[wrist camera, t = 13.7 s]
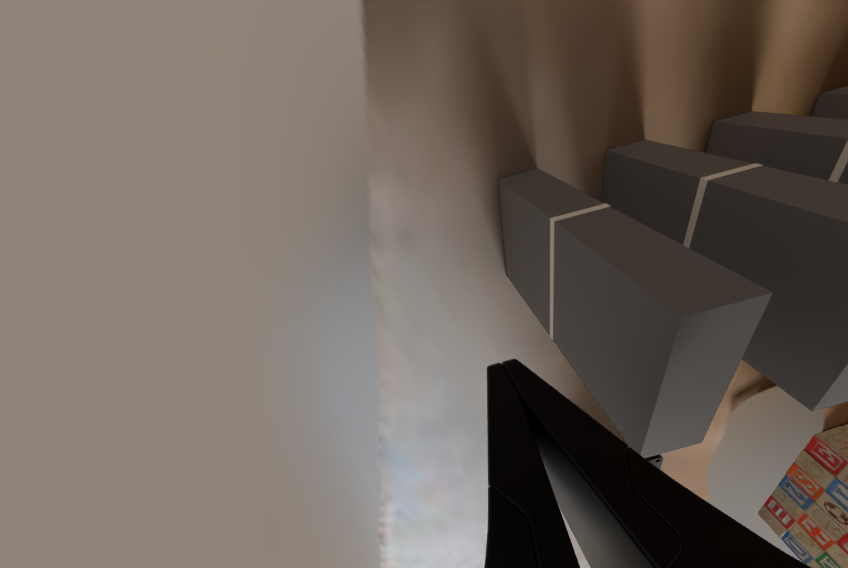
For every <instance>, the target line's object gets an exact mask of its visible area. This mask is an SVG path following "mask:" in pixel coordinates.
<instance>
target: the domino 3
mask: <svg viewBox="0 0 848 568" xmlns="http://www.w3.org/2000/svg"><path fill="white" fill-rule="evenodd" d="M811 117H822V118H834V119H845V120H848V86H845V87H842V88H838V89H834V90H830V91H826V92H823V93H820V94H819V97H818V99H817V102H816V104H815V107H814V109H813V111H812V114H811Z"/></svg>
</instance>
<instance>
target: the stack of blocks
mask: <svg viewBox="0 0 848 568" xmlns="http://www.w3.org/2000/svg"><path fill="white" fill-rule="evenodd" d="M758 514H759V516H760V517H761V518H762V519H763V520H764V521H765V522H766V523H767V524H768V525H769V526H770V528H771V529H772V530H773V531H774V532H775V533H776V534H777V535H778V537H779V538H781V539H782V540H783V541H784V543H785V544H786V545H787V546H788V547H789V548H790V549H791V550H792V551H793V553H794V554H795V555H796V556H797V557H798V558H799V559H800V560H801V562H802V563H804V564H806V565H808V566H810V567H812V568H848V424H846V425H843V426H839V427H836V428H833V429H830V430H827V431H824V432H821V433H817V434H815V435H814V436H813V437H812V438H811V440H810V441H809V443H808V444H807V446H806V447H805V449H804V450H802V452H801V453H800V455H799V456H798V457H797V459H796V460H795V462H794V463H793V464H792V466H791V467H790V468H789V470H788V471H787V473H786V475H785V476H784V478H783V479H782V480H781V482H780V483H779V485H778V486H777V487H776V489H775V490H774V492H773V493H772V495H771V496H770V497H769V498H768V499H767V501H766V502H765V503H764V505H763V506H762V508H761V509H760V510H759V512H758Z"/></svg>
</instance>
